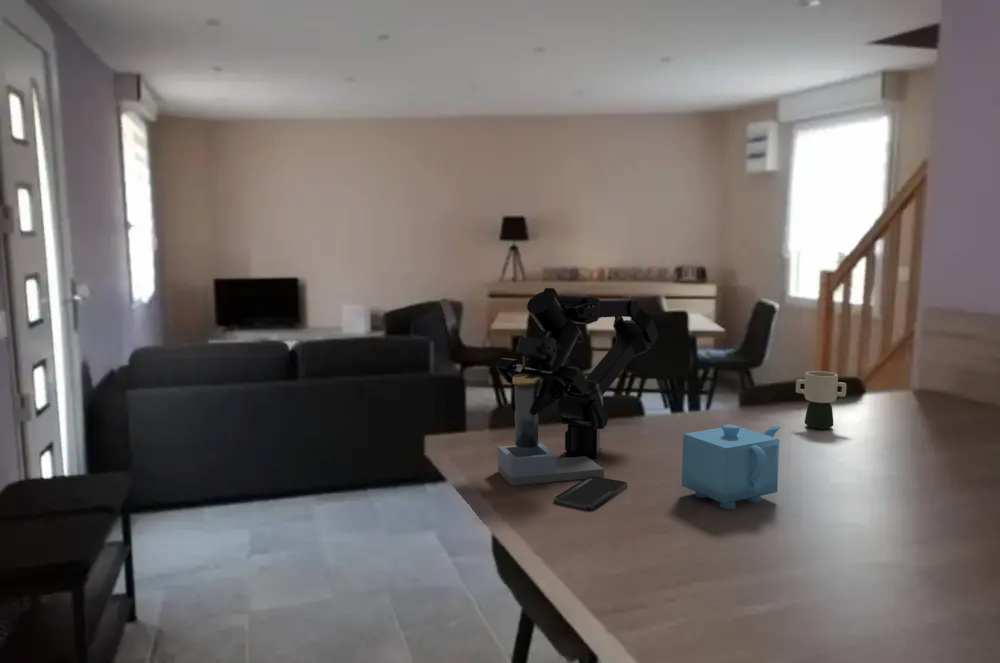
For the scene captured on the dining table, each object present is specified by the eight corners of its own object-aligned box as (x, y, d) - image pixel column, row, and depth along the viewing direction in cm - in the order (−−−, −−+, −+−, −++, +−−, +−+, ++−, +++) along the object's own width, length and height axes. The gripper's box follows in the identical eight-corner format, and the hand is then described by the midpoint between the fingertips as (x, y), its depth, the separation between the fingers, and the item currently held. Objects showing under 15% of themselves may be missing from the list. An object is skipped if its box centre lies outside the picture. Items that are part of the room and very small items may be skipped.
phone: (551, 498, 132) (591, 475, 145) (551, 505, 132) (591, 481, 145) (593, 507, 128) (630, 482, 140) (593, 514, 128) (629, 488, 141)
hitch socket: (585, 463, 155) (586, 439, 154) (603, 476, 146) (604, 451, 146) (498, 471, 150) (498, 446, 149) (511, 485, 141) (511, 459, 141)
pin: (537, 440, 149) (537, 373, 147) (543, 447, 144) (543, 378, 142) (511, 441, 148) (510, 374, 146) (515, 449, 143) (515, 379, 141)
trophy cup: (844, 426, 182) (847, 372, 181) (843, 433, 176) (846, 378, 174) (795, 422, 187) (797, 369, 185) (793, 428, 180) (795, 374, 179)
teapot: (734, 518, 125) (737, 441, 123) (671, 490, 139) (673, 420, 137) (812, 500, 133) (816, 427, 131) (745, 475, 147) (748, 409, 145)
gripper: (501, 317, 152) (464, 381, 145) (580, 324, 140) (543, 394, 133) (526, 351, 159) (492, 413, 152) (603, 361, 147) (569, 429, 140)
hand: (522, 412), depth 144 cm, fingers closed on pin, 4 cm apart
